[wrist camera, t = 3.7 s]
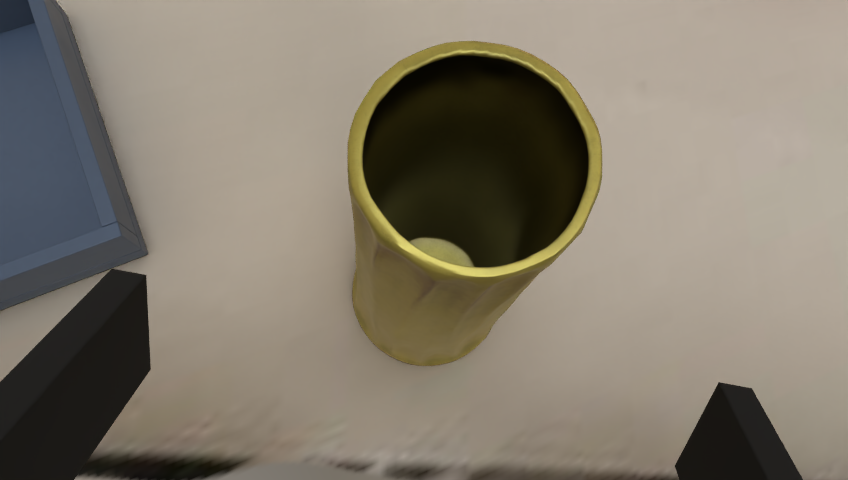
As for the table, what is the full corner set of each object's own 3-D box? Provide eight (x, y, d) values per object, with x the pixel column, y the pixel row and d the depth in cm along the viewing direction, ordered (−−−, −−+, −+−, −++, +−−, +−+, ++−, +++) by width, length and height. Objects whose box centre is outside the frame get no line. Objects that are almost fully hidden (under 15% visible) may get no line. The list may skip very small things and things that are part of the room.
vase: (505, 232, 27) (632, 41, 14) (492, 375, 25) (622, 324, 12) (364, 212, 27) (348, 0, 13) (341, 356, 25) (297, 281, 12)
